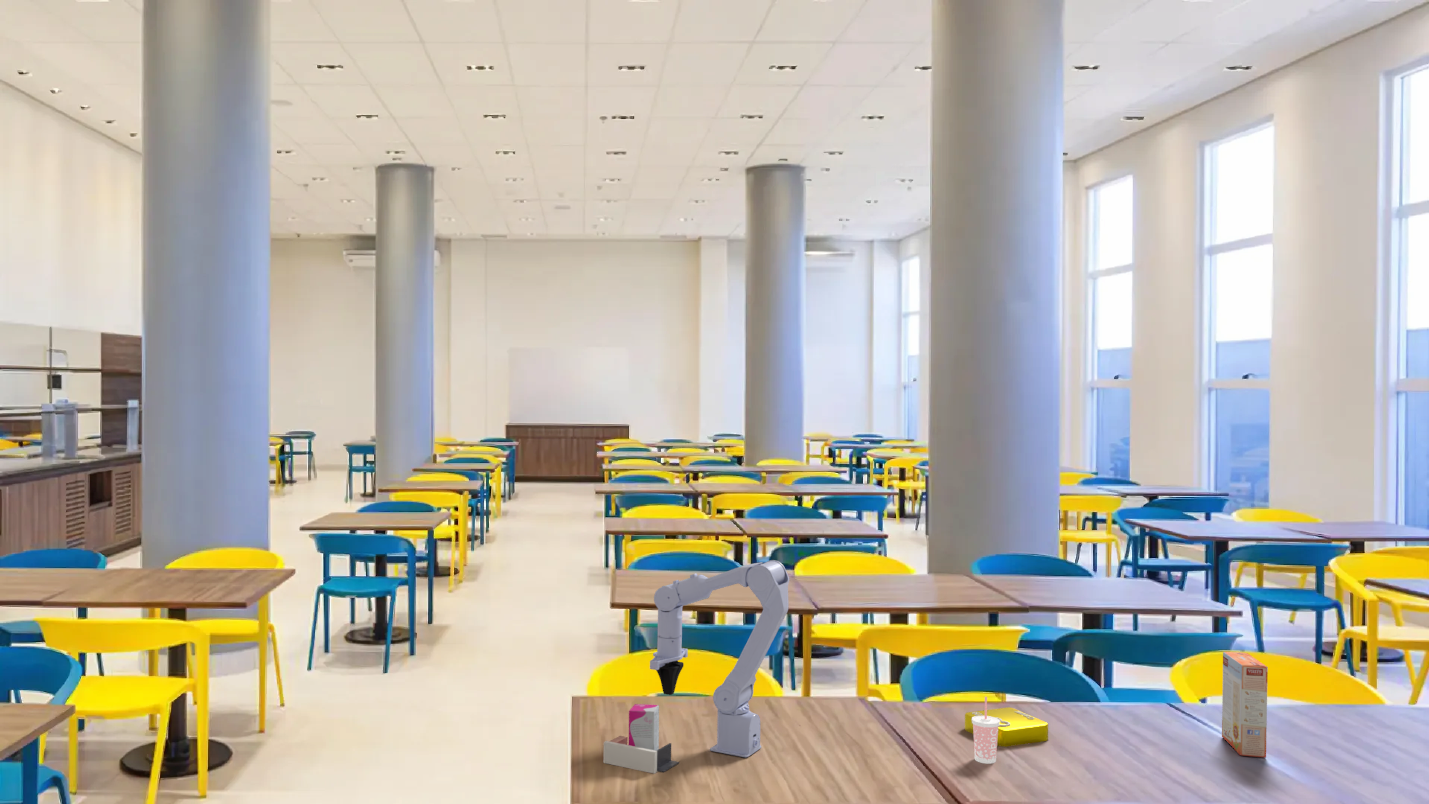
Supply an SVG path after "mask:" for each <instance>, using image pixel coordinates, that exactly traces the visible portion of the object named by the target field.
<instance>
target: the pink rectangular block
mask: <svg viewBox="0 0 1429 804" xmlns="http://www.w3.org/2000/svg"><path fill="white" fill-rule="evenodd" d="M628 740H629V736H624V735H618V736H616V737H615V738H612V739H611V740H609V741H610V742H615V743H620V744H625V745H628Z"/></svg>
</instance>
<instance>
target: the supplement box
mask: <svg viewBox="0 0 1429 804" xmlns="http://www.w3.org/2000/svg"><path fill="white" fill-rule="evenodd" d="M659 713H660V706H659V704H645V703H644V704H643V703H642V704H641V703H639V704H638V703H634V704H633V706H632V707H631V708H630V709H629V710H628V745H630V746H635V747H640V748H645V749H650V750H655V751H657V750H658V749H660V746H659V744H660V742H659V741H660V738H659V737H660V735H659V734H660V732H659V731H660V714H659Z"/></svg>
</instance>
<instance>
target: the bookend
mask: <svg viewBox="0 0 1429 804" xmlns="http://www.w3.org/2000/svg"><path fill="white" fill-rule="evenodd" d="M679 764H680V762H679V761H677V760H672V742H671V743H670V742H669V743H667V744H665V745H664V746H662V747H659V749H658V750H657V772H659V773H666V772H667V771H669V770H670V769H672V768H674V767H675V766H677V765H679Z"/></svg>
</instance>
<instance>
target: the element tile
mask: <svg viewBox="0 0 1429 804" xmlns="http://www.w3.org/2000/svg"><path fill="white" fill-rule="evenodd" d="M974 716H985V709H984V710H976V711H969V712H965V714H964V731H966V732H968V733H970V734H972V735H974V734H973V723H972V717H974ZM987 716H991V717H995V718H997V719H999V720H1000V725H999V726H998V739H997V747H1002V748H1003V747H1004V748H1009V747H1015V746H1020V745H1028V743H1030V744H1037V743H1044V742H1048V741H1047V740H1049V723H1048V722H1046V721H1044V720H1042V719H1040V718H1038V717H1035V716H1033V715H1030V714H1028V713H1025V712H1023V711H1021V710H1018V709H1017V708H1014V707H1000V708H992V709H987Z"/></svg>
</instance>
